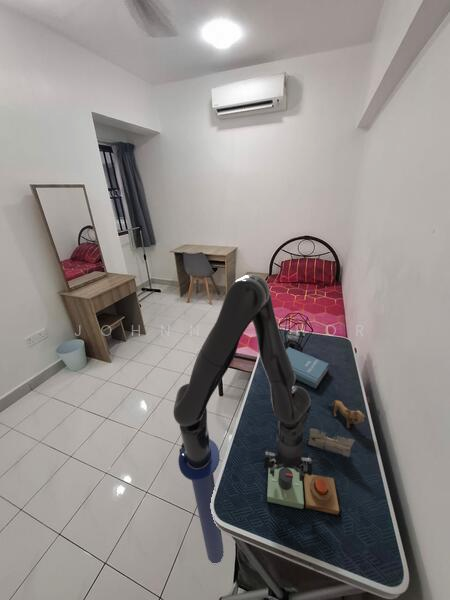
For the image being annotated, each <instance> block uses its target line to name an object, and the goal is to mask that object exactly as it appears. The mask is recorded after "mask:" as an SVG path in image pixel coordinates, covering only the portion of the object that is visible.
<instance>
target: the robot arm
mask: <svg viewBox="0 0 450 600" xmlns="http://www.w3.org/2000/svg"><path fill="white" fill-rule="evenodd" d="M251 323H252V325H253V327H254V330H255V336H256V342H257V349H258V353H259V358H260V363H261V365H262V368H263V371H264V373H265V376H266V379H267V380H268V385H269V392H270V401H271V407H272V411H273V413H274V416H275V418H276V420H278V421H277V432H276V440H275V451H273V452H271V451H270V449H268V448H266V449H265V451H264V463H263V464H264V465H263V467H264V469H269V468H270V474H272V476H273V477H274V470H275V469H280V468H281V467H285V468H291V469H294V470H295V471H296V472H297V473H299V481H302V482H303V480H304V478H305V474H308V475H312V474H313V460H312V456H311V455H306V457H303V450H304V433H305V426H306V423H307V421H308V418H309V415H310V413H311V409H312V400H311V396H310V394H309V392H308V391H307V390H306V389H305V388H304V387H302V386H299V385H295V384H296V381H297V379H296V376H295V373H294V370H293V367H292V364H291V362H290V359H289V357H288V354H287V352H286V350H287V348H286V346H285V344H284V340H283V338H282V336H281V332H280V328H279V326H278V321H277V319H276V314H275V310H274V305H273V300H272V295H271V290H270V286H269V284H268V282H267V281H266V279H265V278H264V277H262V276H261V275H258V274H255V273H249V274H246V275H243V276H242V277H240V278H238V279H236V280H235V281H233V282H232V283H231V284H230V286H229V288H228V290H227V292H226V294H225V297H224V300H223V303H222V305H221V309H220V312H219V314H218V316H217V319H216V322H215V323H214V325H213V327H212V328H211V330H210V332H209V333H208V335H207V336H206V338H205V340H204V343H203V344H202V345H201V348H200V350H199V352H198V354H197V355H196V359H195V361H194V365H193V367H192V370H191V375H190V378H189V381H188V383H185V384H183V385H182V386H181V387H179V389H178V390H177V392H176V397H175V401H174V404H173V411H172V414H173V418H174V420H175V422H176V423H177V424H178V425H179V431H180V436H181V441H182V443H181V447H180V448H179V454H180V456H181V457H184V462H185V463H187V464H188V466H189V467H190V468H191V469H193V470H201V469H204V468H205V467H206V466H207V465H208V464H209V463H210V461H211V457H212V454H211V448H210V441H209V439H210V435H209V434H210V433H209V426H208V410H207V409H208V408H207V406H208V404H209V401H210V399H211V397H212V395H213V394H214V392H215V391H216V389H217V387H218V386H219V385H220V383H221V381H222V379H223V378H224V376H225V375H226V373H227V372H228V370H229V367H230V366H231V364H232V362H233V361H234V358H235V356H236V353H237V352H238V347H239V343H240V340H241V338H242V336H243V334H244V332H245V331H246V330H247V328H248V327H249V326H250V324H251Z"/></svg>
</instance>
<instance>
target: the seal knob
mask: <svg viewBox="0 0 450 600" xmlns="http://www.w3.org/2000/svg"><path fill="white" fill-rule="evenodd" d="M292 481H293V473H292V471H291V470H290V469H289V468H285V467H283V468H281V469H280V470H279V478H278V483H279V485H280V487H281V488H282V489H284V490H289V489H290V488H291V487H292Z"/></svg>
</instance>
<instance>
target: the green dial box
mask: <svg viewBox="0 0 450 600" xmlns="http://www.w3.org/2000/svg"><path fill="white" fill-rule="evenodd" d="M281 468H283V467H281ZM281 468H280V469H281ZM267 469H268V472H267V473H268V474H267V493H266V495H267V497H266V502H268V503H272V504H276V505H277V504H278V505H282V506H285V507H286V506H287V507H291V508H295V509H301V510H303V509H304V507H305V497H304V483H303V480H302V481H299V473H297V472H296V471H295V470H294V469H291V468H289V469H290V470H291V471H292V473H293V481H292V487H291V488H290V489H289V490H284V489H282V488H281V487H280V485H279V483H278V478H279V470H280V469H275V470H274V477H273V476H272V474H270V468H267Z"/></svg>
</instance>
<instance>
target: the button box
mask: <svg viewBox="0 0 450 600" xmlns="http://www.w3.org/2000/svg"><path fill="white" fill-rule="evenodd" d="M318 479H322V480H324V481H325V482H326V483H327V486H328V490H327V493H326V494H325V495H321V494H319V493H318V492H317V491H316V489H315V483H316V481H317V480H318ZM302 483H303V496H304V507H305V509H310V510H313V511H319V512H322V513H327V514H328V513H329V514H333V515H337V516H339V513H340V507H339V502H338V496H337V490H336V483H335V478H334V477H329V476H323V475H316V474H313V473H312V475H308V474H305V478H304V480H302Z"/></svg>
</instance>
